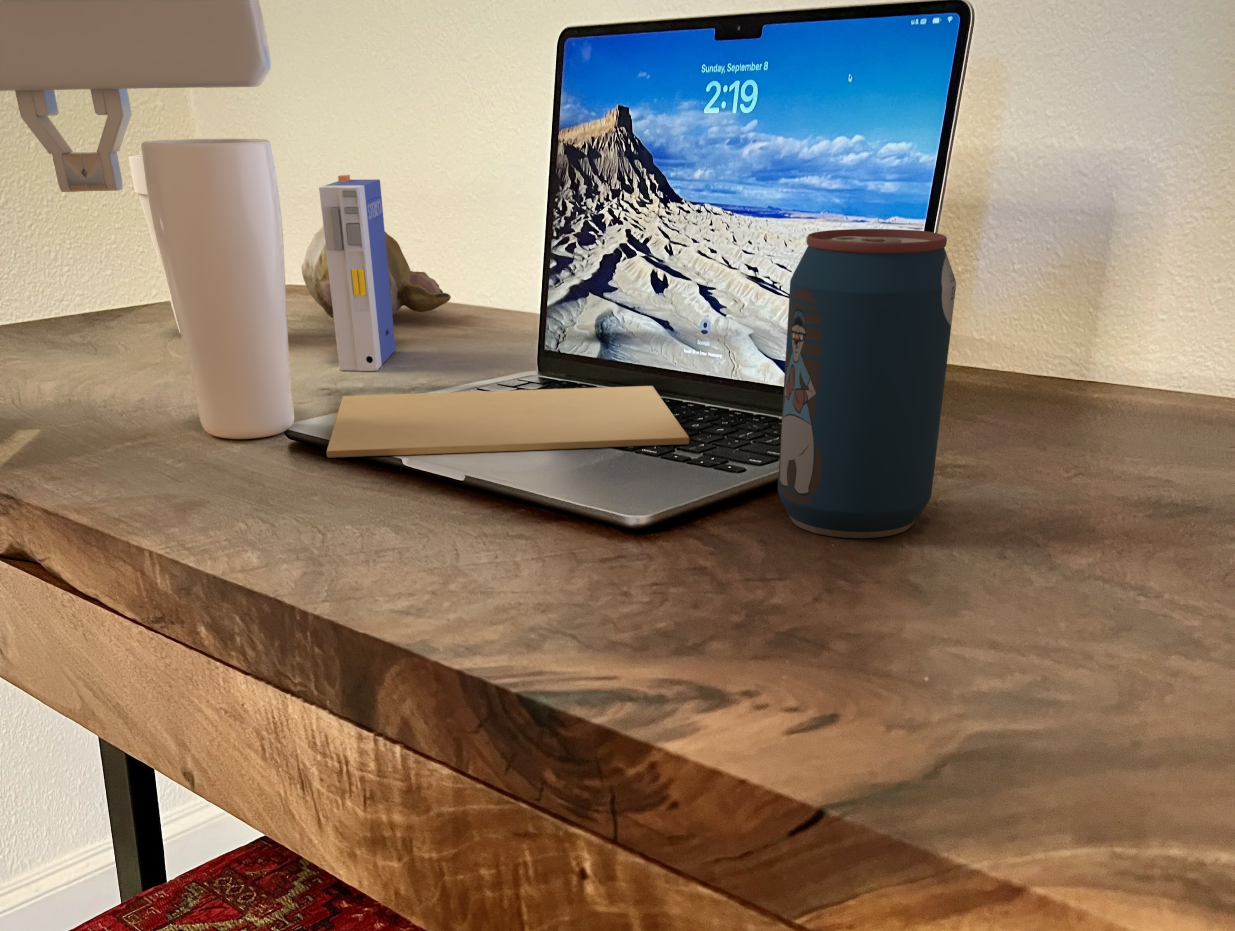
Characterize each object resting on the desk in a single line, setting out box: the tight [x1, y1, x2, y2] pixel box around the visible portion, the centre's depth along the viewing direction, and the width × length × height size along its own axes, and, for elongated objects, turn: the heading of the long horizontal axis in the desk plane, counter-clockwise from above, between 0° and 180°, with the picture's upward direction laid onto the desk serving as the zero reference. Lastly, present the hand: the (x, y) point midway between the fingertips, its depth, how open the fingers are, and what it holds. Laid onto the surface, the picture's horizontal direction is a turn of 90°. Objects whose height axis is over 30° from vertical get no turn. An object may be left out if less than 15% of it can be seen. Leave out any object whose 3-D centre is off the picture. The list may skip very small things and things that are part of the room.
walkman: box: [318, 174, 397, 372], centre depth 90 cm, size 8×3×12 cm, turn 179°
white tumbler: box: [140, 138, 295, 440], centre depth 70 cm, size 7×7×15 cm
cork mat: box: [326, 385, 690, 459], centre depth 76 cm, size 20×14×1 cm
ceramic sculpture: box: [300, 226, 452, 319], centre depth 107 cm, size 11×9×15 cm
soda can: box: [777, 228, 957, 539], centre depth 55 cm, size 7×7×12 cm
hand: (92, 190), depth 67 cm, fingers closed
